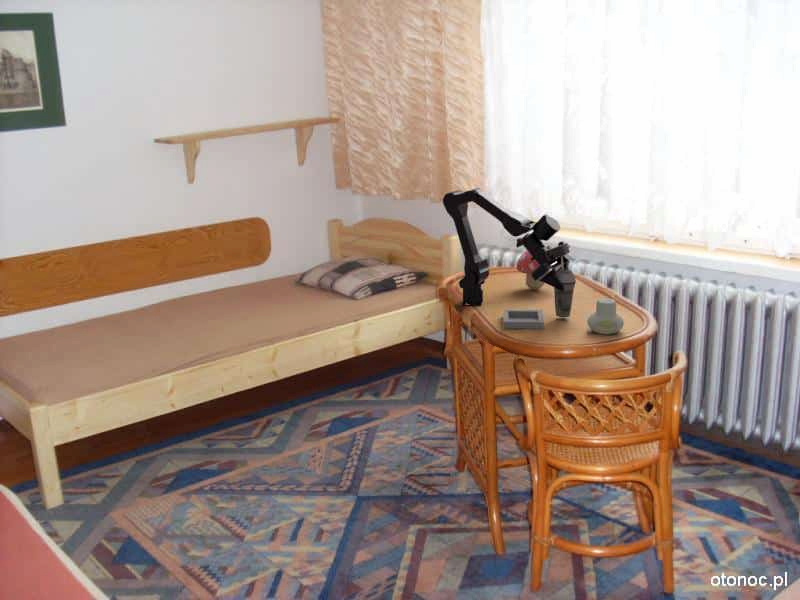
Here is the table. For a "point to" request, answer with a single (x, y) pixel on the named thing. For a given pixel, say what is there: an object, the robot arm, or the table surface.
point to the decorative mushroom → (529, 270)
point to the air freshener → (605, 317)
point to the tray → (523, 319)
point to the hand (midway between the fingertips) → (567, 287)
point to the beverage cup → (564, 291)
